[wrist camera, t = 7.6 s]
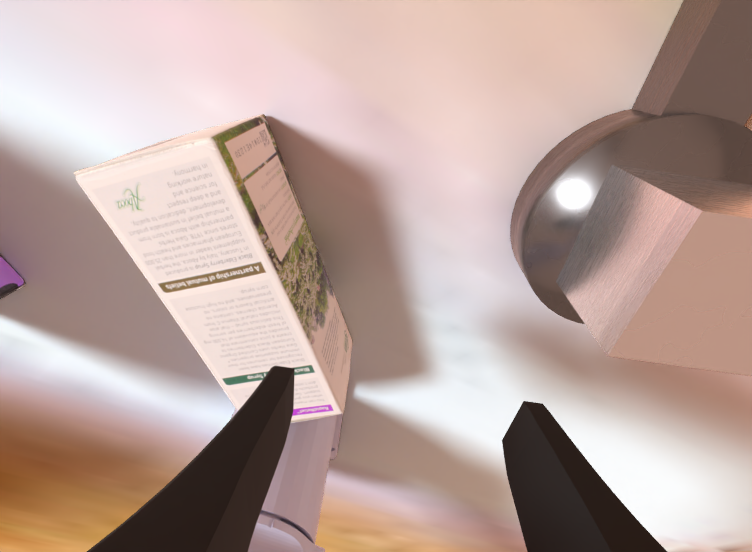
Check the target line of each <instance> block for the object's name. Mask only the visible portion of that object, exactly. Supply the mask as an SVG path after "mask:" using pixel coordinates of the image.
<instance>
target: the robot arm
mask: <svg viewBox="0 0 752 552" xmlns="http://www.w3.org/2000/svg"><path fill="white" fill-rule="evenodd" d="M294 371H295V368H289V367H282V366H273V367H271V369H270V370H269V372H268V373H267V375H266V376H265V377H264V379H263V380H262V382H261V383H260V384H259V386H258V387H257V388H256V390H255V391H254V392H253V393H252V395H251V396H250V397H249V398H248V400H247V401H246V402H245V403H244V405H243V406H242V407H241V408H240V409H239V410H237V409H235V411H234V413H233V415H232V417H231V419H230V421H229V422H228V423H227V425H226V426H225V427H224V428H223V429H222V430H221V431H220V432H219V433H218V434H217V435H216V436H215V438H214V439H213V440H212V441H211V442H210V443H209V444H208V445H207V446H206V447H205V448H204V449H203V450H202V451H201V452H200V453H199V454H198V455H197V456H196V457H195V458H194V459H193V460H192V461H191V462H190V463H189V464H188V465H187V466H186V467H185V468H184V469H183V470H182V471H181V472H180V473H179V474H178V475H177V476H176V477H175V478H174V479H173V480H172V481H171V482H169V483H168V484H167V485H166V486H165V487H164V488H163V489H162V490H161V491H160V492H158V493H157V494H156V495H155V496H154V497H153V498H152V499H150V500H149V501H148V502H147V503H146V504H145V505H144V506H143V507H141V508H140V509H139V510H138V511H137V512H136V513H134V514H133V515H132V516H131V517H130V518H128V519H127V520H126V521H125V522H124V523H122V524H121V525H120V526H119V527H118V528H116V529H115V530H114V531H112V532H111V533H110V534H109V535H107V536H106V537H105V538H104V539H102V540H101V541H100V542H99V543H97V544H96V545H95V546H93V547H92V548H91V549H90V550H88V551H87V552H325V549H324V548H322V547H319V546H317V545H315V540H316V534H317V529H318V523H319V517H320V511H321V506H322V500H323V494H324V488H325V483H326V477H327V471H328V466H329V460H330V459H335V458H336V457H337V452H338V445H339V438H340V431H341V424H342V417H343V413H341V414H338V415H333V416H328V417H323V418H319V419H313V420H308V421H301V422H295V423H291V419H292V415H293V407H294ZM235 408H236V407H235ZM502 442H503V450H504V458H505V464H506V470H507V476H508V480H509V484H510V488H511V492H512V495H513V499H514V503H515V507H516V510H517V514H518V518H519V522H520V525H521V529H522V533H523V536H524V540H525V544H526V548H527V551H528V552H667V551H666V550H665V549H664V548H663V547H662V546H661V545H660V544H659V543H658V542H657V541H656V540H655V539H654V538H653V536H652V535H651V534H650V533H649V532H648V531H647V530H646V529H645V528H644V527H643V526H642V525H641V524H640V523H639V521H638V520H637V519H636V518H635V517H634V516H633V515H632V514H631V512H630V511H629V510H628V509H627V508H626V507H625V506H624V504H623V503H622V502H621V501H620V500H619V499H618V498H617V496H616V495H615V494H614V493H613V492H612V491H611V489H610V488H609V487H608V486H607V485H606V483H605V482H604V481H603V480H602V479H601V477H600V476H599V475H598V474H597V472H596V471H595V470H594V469H593V467H592V466H591V465H590V464H589V462H588V461H587V460H586V459H585V457H584V456H583V455H582V454H581V452H580V451H579V450H578V448H577V447H576V446H575V445H574V443H573V442H572V441H571V439H570V438H569V437H568V436H567V434H566V433H565V432H564V430H563V429H562V428H561V426H560V425H559V424H558V423H557V421H556V420H555V419H554V417H553V416H552V415H551V413H550V412H549V411H548V410H547V408H546V407H545V406H544V405H543V404H540V403H533V402H526V401H524V402H523V403H522V405H521V407H520V409H519V411H518V413H517V414H516V416H515V418H514V420H513V422H512V423H511V425H510V427H509V429H508V431H507V432H506V434H505V436H504V438H503V440H502Z"/></svg>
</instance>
